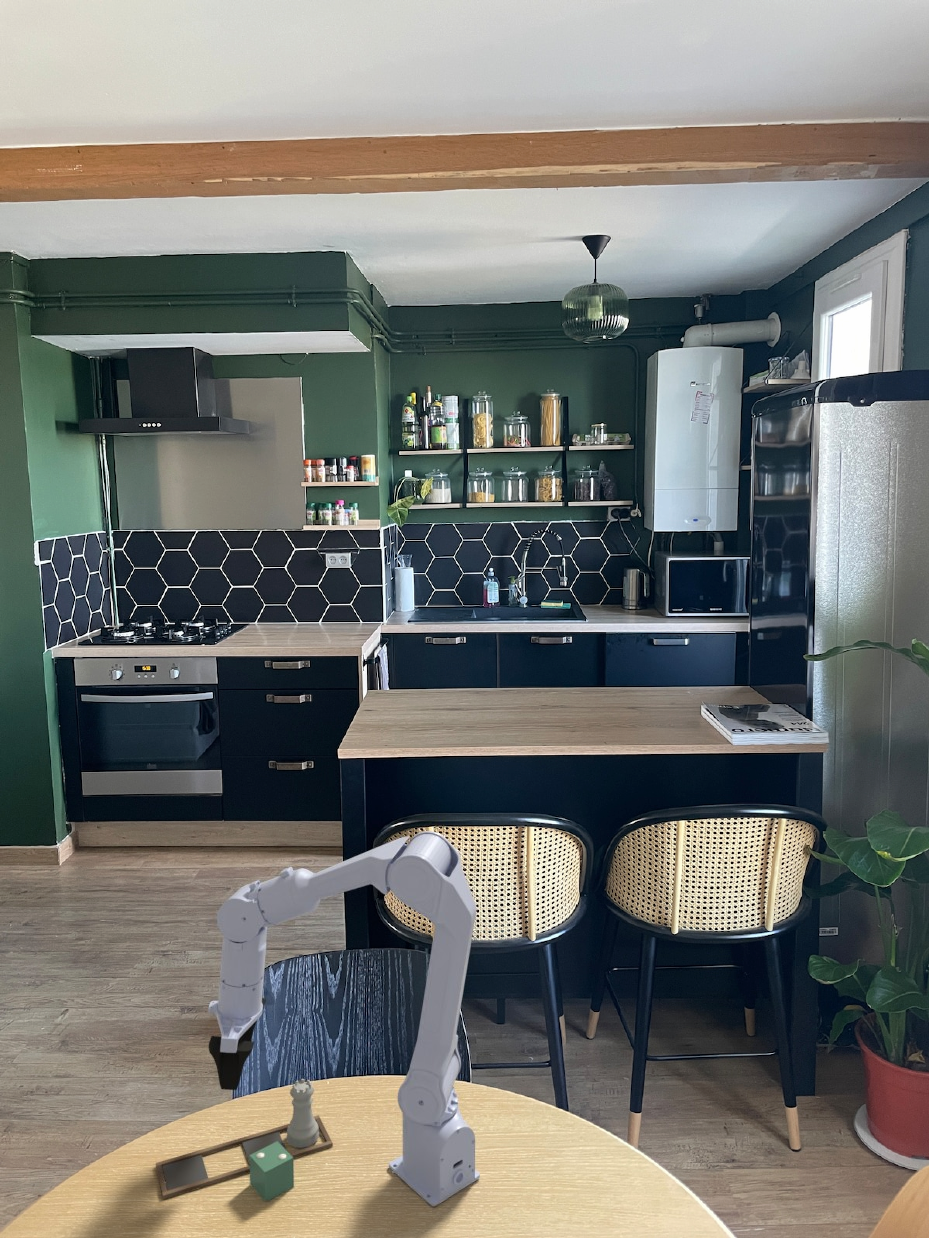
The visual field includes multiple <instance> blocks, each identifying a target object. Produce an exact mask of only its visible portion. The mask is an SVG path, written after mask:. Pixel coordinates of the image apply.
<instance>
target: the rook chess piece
mask: <svg viewBox="0 0 929 1238" xmlns="http://www.w3.org/2000/svg"><path fill="white" fill-rule="evenodd" d="M305 1080H306V1079H305V1078H301V1079H300V1082H299V1080H298V1079H297V1080H295V1081H294V1083H292V1088H291V1089H290V1090H289V1094H290V1096H291V1098H292V1099H291V1100H292V1101H291V1106H292V1108H293V1110H292V1111H293V1112H292V1117H291V1120H290V1121H289V1123H288V1124H289V1126H288V1128H287V1131H286V1139H285V1140H286V1141H287V1144H289V1145H290V1146H291V1147H292V1148H294V1149H298V1150H302V1149H305V1148H308V1147H311V1146H314V1144H315V1143H316V1142H317V1141H318V1140H319V1138H320V1130H319V1126H318V1124H317V1122H316V1121H315V1119H314V1115H313V1109H312V1103H314V1102H313V1097H312V1096H313V1094H314V1093H315V1088H314V1086H313V1085H312V1082H311V1081H310V1080H309V1079H307V1080H306V1081H305Z"/></svg>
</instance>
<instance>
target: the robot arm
mask: <svg viewBox="0 0 929 1238" xmlns="http://www.w3.org/2000/svg"><path fill="white" fill-rule="evenodd" d="M408 839H410V835H408V836H402V837H399V838H397V839H395V840H392V841H390V842H389V841H388V842H386V843H384V844H382V845H380V846H377V847H374V848H372V849H370V850H368V851H365V852H363V853H360V854H358V855H355V856H353V857H351V858H349V859H345V860H344V861H341V862H339V863H336V864H334V865H332V866H329V867H327V868H324V869H323V870H320V871H318V872H317V871H316V872H312V871H311V870H309V869H307V868H303V867H302V868H297V869H295V870H294V868H293V867H292V866H289V867H286V868H284V869H283V870H282V871H280V872H279V875H278V876H276V877H274V878H271V879H268V880H265V881H263V882H261V881H260V880H259V879H258V880H255V881H252V882H251V883H248V884H245V885H243V886H242V887H240V888H239V889H238V890H237V891H235V893H234V894H232V895H231V896H230V897H229V898H228V899H227V900H226V901H225V902H224V903H223V904H222V905H221V906H220V908H219V909H218V911H217V914H216V923H217V926H218V929H219V931H220V933H221V934H222V945H221V955H220V957H221V958H220V969H219V984H218V996H217V999H218V1000H212V1001H210V1002H209V1004H208V1008H207V1013H209V1014H211V1015H212V1014H213V1015H215V1016H216V1020H217V1024H218V1026H219V1030H220V1033H221V1035H220V1036H219V1035H218V1036H216V1035H211V1036H210V1039H209V1042H208V1051H209V1054H210V1055H211V1056H212V1059H213V1060H214V1064H215V1066H216V1070H217V1071H216V1072H217V1076H218V1082H219V1086H220V1089H221V1090H223V1091H224V1090H226V1091H236V1090H237V1089H238V1087H239V1085H240V1082H241V1077H242V1073H243V1070H244V1069H243V1068H244V1066H245V1063H246V1061H247V1060H248V1058H249V1056H250V1055H251V1053H252V1051H253V1048H254V1045H255V1041H252V1040H253V1039H252V1038H253V1035H254V1032H255V1027H256V1025H257V1022H258V1021H259V1018H261V1016H262V1014H263V1011H264V1009H265V1005H266V1002H267V1001H266V999H265V998H264V997H263V989H264V988H263V987H264V978H265V965H266V964H265V963H266V952H267V937H268V927H274V926H277V925H279V924H282V923H285V922H288V921H292V920H293V919H296V918H299V917H302V916H306V915H308V914H311V913H313V912H315V911H316V910H317V909H318V907H319V905H320V902H321V899H324V898H328V897H331V896H335V895H337V894H341V893H345V892H348V891H352V890H356V889H358V888H362V887H365V886H369V885H372V886H374V888H376V889H377V890H378V891H379V892H380V893H382V894H383V895H389V893H390V892H391V893H392V894H393V895H394V896H395V898H396V899H397V900H399V901H400V902H402V903H403V904H405V905H406V906H407V907H409V908H410V909H412V910H414V911H415V912H416V913H418V914H420V915H421V916H422V917H425V918H426V919H428V920H429V921H430V922H431V923H432V925H433V926H434V930H433V931H434V932H433V938H432V943H431V950H430V958H429V963H428V969H427V976H426V982H425V989H424V996H423V1003H422V1008H421V1013H420V1021H419V1026H418V1034H417V1038H416V1039H417V1040H416V1043H415V1047H414V1051H413V1054H412V1058H411V1061H410V1065H409V1070H408V1072H407V1074H406V1076H405V1078H404V1080H403V1082H402V1083H401V1085H400V1087H399V1089H398V1091H397V1103H398V1107H399V1109H400V1111H401V1114H402V1115H401V1116H402V1155H400V1156H399V1157H397V1158H395V1159H393V1160H391V1161H390V1162H389V1163H388V1167H389V1169H391V1171H392V1172H394V1173H395V1175H397V1176H398V1177H399V1178H400V1179H401V1180H402V1181H403V1182H404V1183H406V1184H407V1185H408V1186H409V1187H410V1189H412V1190H413V1191H414V1192H416V1193H417V1194H418V1195H419V1196H420V1197H421V1198H422V1199H423V1200H424V1201H426V1202H427V1203H428V1204H429V1205H430V1206H432V1207H436V1206H438V1205H440V1204H441V1203H442V1202H444V1201H445V1200H447V1199H449V1198H450V1197H452V1196H453V1195H455V1194H456V1193H458V1192H460V1191H461V1190H463V1189H464V1188H466V1187H467V1186H469V1185H471V1184H472V1183H474V1182H475V1181H477V1180H479V1179H480V1177H481V1173H480V1172H479V1171H478V1170H477V1169H476V1135H475V1131H474V1130H473V1129H472V1128H471V1127H470V1125H469V1124H468V1123H467V1122H466V1121H465V1119H464V1118H463V1115H462V1113H461V1111H460V1107H459V1098H458V1094H457V1092H456V1089H455V1087H454V1085H455V1081H456V1079H457V1078H458V1075H459V1073H460V1072H461V1068H462V1061H461V1060H462V1059H461V1056H460V1053H459V1049H458V1041H459V1035H458V1034H457V1031H458V1025H459V1019H460V1012H461V1007H462V1000H463V995H464V989H465V982H466V976H467V970H468V964H469V957H470V953H471V948H472V947H471V945H472V941H473V940H472V938H473V935H474V934H473V933H474V927H475V921H476V915H477V905H476V902H475V899H474V897H473V894H472V893H473V892H472V890H471V888H470V887H469V884H468V881H467V878H466V875H465V873H464V870H463V865H462V859H461V853H460V852H459V851H458V850H457V849H456V848H455V846H454V845H453V844H452V843H451V842H450V841H449V839H447V838H446V837H445V836H444V835H443V834H441V833H438V832H436V831H433V830H425V831H420V832H418V833H416V834H415V835H414V836H413V837H412V838H411V839H410V840H409V842H408V843H407V844H406V842H407V841H408Z"/></svg>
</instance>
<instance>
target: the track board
mask: <svg viewBox="0 0 929 1238" xmlns="http://www.w3.org/2000/svg"><path fill="white" fill-rule="evenodd" d="M313 1117H314V1119H315V1121H316V1122H317V1124H318V1126H319V1129H318V1131H319V1133H321V1136H322V1138H323V1140H324V1142H321V1143H319V1144H315V1145H312V1146H310V1147H308V1148H305V1149H298V1150H296V1151H295V1150H294V1151H293V1152H288V1150H287V1148H286V1146H285V1143H284V1141H283V1139H282V1137H281V1133H284V1132H287V1128H288V1126H289V1124H290V1123H287V1124H285V1125H281V1126H277V1127H274V1128H271V1129H267V1130H264V1131H261V1132H256V1133H253V1134H251V1135H250V1134H249V1135H246V1136H244V1137H240V1138H236V1139H233V1140H230V1141H226V1142H223V1143H220V1144H219V1143H218V1144H216V1145H213V1146H209V1147H206V1148H203V1149H199V1150H196V1151H193V1152H188V1153H185V1154H182V1155H179V1156H175V1157H172V1158H169V1159H164V1160H162V1161H159V1162H156V1163H155V1169H156V1174H157V1177H158V1178H159V1179H158V1182H159V1186H160V1187H159V1188H160V1192H161V1196H162V1200H166V1199H169V1198H172V1197H176V1196H179V1195H182V1194H185V1193H188V1192H192V1191H195V1190H198V1189H201V1188H205V1187H207V1186H211V1185H213V1184H217V1183H220V1182H223V1181H227V1180H230V1179H234V1178H237V1177H239V1176H243V1175H246V1174H250V1155H251V1154H253V1153H255V1152H257V1151H259V1150H261V1149H263V1148H265V1147H267V1146H269V1145H271V1144H273V1143H275V1142H277V1141H278V1142H279V1143H280V1144H281V1145H282V1146H283V1147H284V1148H285V1149H286V1151H287V1152H288V1153H289V1154H290V1155H291V1156H292V1157H293V1160H295V1159H297V1158H300V1157H304V1156H307V1155H310V1154H313V1153H317V1152H319V1151H322V1150H323V1151H324V1150H325V1149H329V1148H332V1147H333V1143H334V1142H333V1141H332V1138H331V1137H330V1135H329V1133H328V1131H327V1128H326V1127H325V1125H324V1123H323V1122H322V1119H321V1117H320V1115H319V1114H318V1115H313ZM240 1145H242V1148H243V1150H244V1153H245V1156H246V1158H247V1162H248V1164H249V1165H247V1166H243V1167H240V1168H237V1169H234V1170H231V1171H228V1172H223V1173H221V1174H218V1175H215V1176H211V1177H209V1175H208V1173H207V1169H206V1166H205V1165H206V1164H205V1163H204V1158H203V1156H207V1155H210V1154H213V1153H214V1154H215V1153H216V1152H219V1151H223V1150H224V1151H225V1150H227V1149H231V1148H233V1147H236V1146H240ZM165 1182H166V1183H165Z"/></svg>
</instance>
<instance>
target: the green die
mask: <svg viewBox="0 0 929 1238" xmlns="http://www.w3.org/2000/svg"><path fill="white" fill-rule="evenodd" d="M285 1148H286V1147H285ZM285 1148H284V1147H283V1146H282V1145H281V1144H280V1143H279V1142H278V1141H277V1142H275V1143H273V1144H271V1145H269V1146H267V1147H265V1148H263V1149H261V1150H259V1151H257V1152H255V1153H253V1154H251V1155H250V1164H249V1166H250V1172H249V1184H250V1186H251V1187H252V1188H253V1190H255V1192H256V1193H257V1194H258V1195H259V1197H260V1198H261V1199H262V1200H263V1201H264V1202H265V1203H267V1202H268V1201H271V1200H272V1199H275V1198H276V1197H278V1196H280V1195H281V1194H283V1193H286V1192H287V1191H289V1190H291V1189H293V1188H294V1187H295V1181H294V1180H295V1177H294V1176H295V1175H294V1174H295V1171H294V1169H295V1168H294V1166H295V1165H294V1159H293V1157H292V1156H291V1155H290V1154H289V1153H290V1152H288V1150H287V1148H286V1149H285ZM286 1150H287V1151H286Z"/></svg>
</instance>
